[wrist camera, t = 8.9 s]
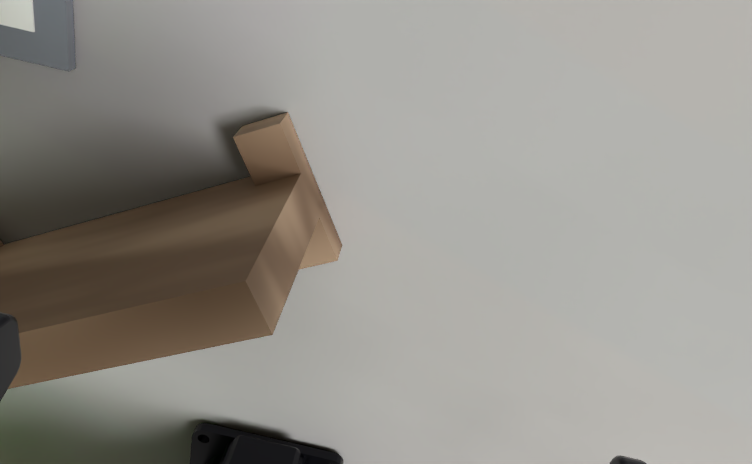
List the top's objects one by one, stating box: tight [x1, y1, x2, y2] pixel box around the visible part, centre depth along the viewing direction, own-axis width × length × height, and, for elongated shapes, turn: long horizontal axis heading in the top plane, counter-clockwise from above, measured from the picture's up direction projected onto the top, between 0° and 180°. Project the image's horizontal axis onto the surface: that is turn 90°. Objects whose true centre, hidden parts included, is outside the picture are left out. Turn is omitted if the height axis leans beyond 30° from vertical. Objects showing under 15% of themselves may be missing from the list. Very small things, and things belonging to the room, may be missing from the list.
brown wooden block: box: [0, 112, 342, 389], centre depth 20 cm, size 5×14×7 cm, turn 109°
